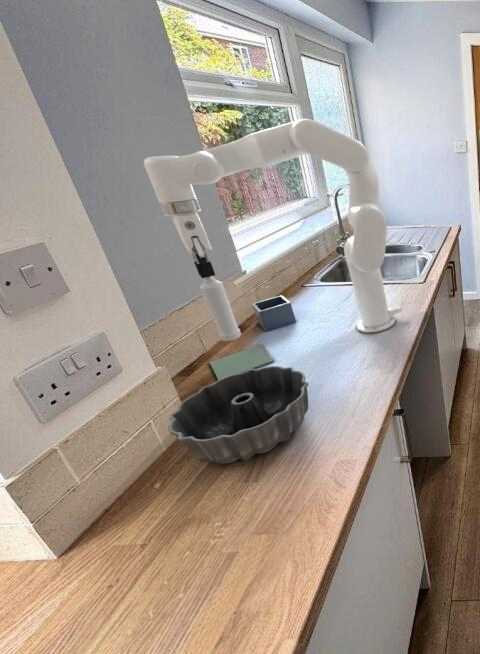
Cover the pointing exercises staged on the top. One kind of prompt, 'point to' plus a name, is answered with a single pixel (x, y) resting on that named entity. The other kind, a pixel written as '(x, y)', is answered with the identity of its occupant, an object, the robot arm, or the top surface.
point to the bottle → (220, 309)
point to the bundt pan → (241, 414)
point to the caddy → (274, 312)
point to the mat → (240, 362)
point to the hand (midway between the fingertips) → (207, 274)
